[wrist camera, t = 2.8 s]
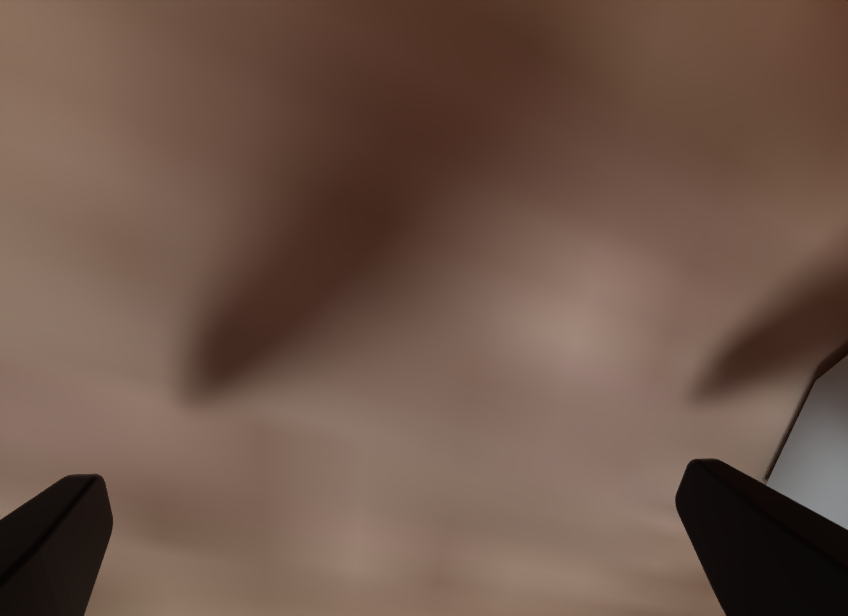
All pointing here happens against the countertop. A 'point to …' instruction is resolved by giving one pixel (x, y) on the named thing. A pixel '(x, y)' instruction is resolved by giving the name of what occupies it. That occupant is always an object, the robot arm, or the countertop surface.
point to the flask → (819, 450)
